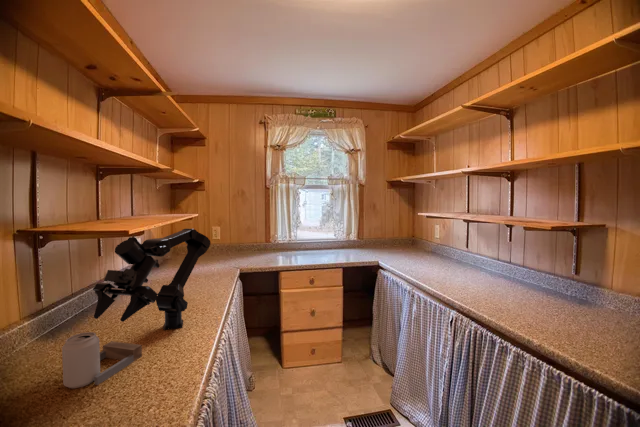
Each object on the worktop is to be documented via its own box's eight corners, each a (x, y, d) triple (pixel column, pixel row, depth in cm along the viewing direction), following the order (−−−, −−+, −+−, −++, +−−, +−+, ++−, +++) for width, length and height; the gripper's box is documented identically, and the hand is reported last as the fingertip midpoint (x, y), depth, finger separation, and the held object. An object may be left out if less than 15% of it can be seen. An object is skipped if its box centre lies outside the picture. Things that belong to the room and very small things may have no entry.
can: (107, 372, 79) (105, 329, 79) (85, 390, 72) (84, 343, 71) (79, 372, 79) (77, 330, 78) (55, 390, 72) (53, 343, 71)
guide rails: (103, 357, 87) (102, 350, 87) (133, 361, 85) (133, 354, 84) (63, 379, 76) (63, 372, 76) (97, 385, 74) (97, 377, 74)
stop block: (112, 352, 90) (111, 341, 90) (141, 356, 87) (141, 345, 87) (103, 357, 87) (102, 345, 87) (133, 361, 85) (133, 350, 84)
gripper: (97, 257, 89) (60, 304, 78) (149, 259, 85) (116, 310, 75) (120, 275, 97) (89, 321, 86) (168, 279, 93) (142, 326, 83)
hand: (108, 319), depth 82 cm, fingers open, 9 cm apart
